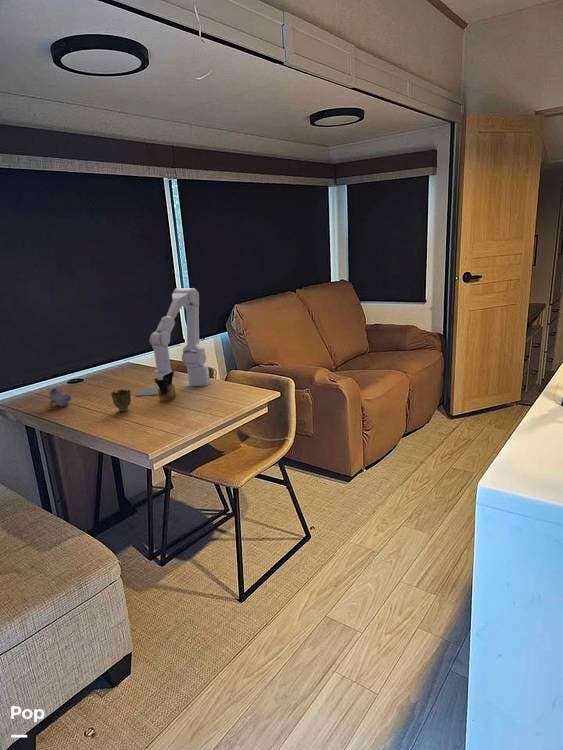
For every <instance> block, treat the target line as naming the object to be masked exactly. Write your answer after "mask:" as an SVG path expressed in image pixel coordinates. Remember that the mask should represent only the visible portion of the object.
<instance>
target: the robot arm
mask: <svg viewBox="0 0 563 750" xmlns="http://www.w3.org/2000/svg"><path fill="white" fill-rule="evenodd" d="M171 299H172V301H171V303H170V306H169V308H168V311H167V313H166V315H165V316H163V317H161V319H160V321H159V323H158V325H157V328H156V329H155V331H154V332H152V333H151V334H150V336H149V343H150V345H151V347H152V350H153V352H154V358H155V359H154V360H155V366H156V370H154V371H153V373H154V374H157V375H156V378H155V379H154V382H155V383H156V385H157V387H159V389H160V391H161V394H162V395H165V394H167V386H168V385H173V378H174V374H175V371H174V370H172V368H171V367H172V366H171V361H170V359H171V358H170V354H169V353H170V352H169V346H168V345H169V344H170V343H171V335H172V334H171V333H172V331H173V328H174V327H175V324H176V321H175V318H176V317H177V315H178V314H179V312H180V310H181V309H182V307H184V309H185V310H186V343H187V344H186V345H185V346H184V347H183V349H182V355H181V360H182V363H183V364H184V365H185V367H186V370H187V379H188V380H187V381H188V383H187V385H186V387H189V388H190V387H207V386H208V385H209V383H210V382H211V379H210V371H209V366H208V364H205V363H206V361H207V356H206V353H205V347H204V346H202V345H201V344H200V323H199V322H200V320H199V319H200V318H199V317H200V316H199V315H200V314H199V313H200V310H199V306H200V293H199V291H198V290H197V289H196V288H194V287H191V288H190V287H189V288H188V287H187V288H185V287H184V288H183V287H182V288H180V287H176V288H175V289H174V290H173V292H172V293H171Z"/></svg>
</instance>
